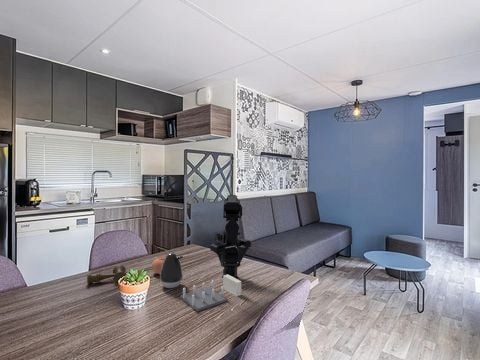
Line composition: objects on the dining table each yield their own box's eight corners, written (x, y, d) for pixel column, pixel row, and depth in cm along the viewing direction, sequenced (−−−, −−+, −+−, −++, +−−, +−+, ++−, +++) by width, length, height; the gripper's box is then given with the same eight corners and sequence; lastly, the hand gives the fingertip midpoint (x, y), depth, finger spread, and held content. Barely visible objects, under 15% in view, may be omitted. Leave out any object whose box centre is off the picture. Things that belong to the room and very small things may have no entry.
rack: (209, 288, 120) (209, 277, 120) (227, 300, 109) (228, 288, 109) (179, 297, 111) (179, 286, 111) (196, 311, 100) (196, 298, 100)
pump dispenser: (177, 291, 117) (177, 257, 116) (155, 289, 119) (156, 255, 118) (186, 282, 127) (187, 251, 126) (166, 280, 129) (166, 249, 128)
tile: (227, 287, 123) (227, 274, 123) (241, 295, 115) (241, 281, 115) (223, 288, 121) (223, 275, 121) (236, 296, 114) (236, 282, 113)
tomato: (156, 278, 131) (156, 262, 131) (148, 272, 139) (148, 256, 139) (176, 273, 138) (176, 258, 137) (167, 267, 146) (168, 253, 146)
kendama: (88, 281, 127) (132, 274, 136) (86, 290, 118) (134, 281, 127) (87, 269, 127) (132, 262, 135) (86, 277, 118) (134, 269, 127)
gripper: (237, 224, 130) (236, 256, 130) (204, 228, 118) (203, 263, 119) (252, 228, 121) (251, 262, 121) (217, 233, 109) (217, 271, 110)
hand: (231, 264), depth 118 cm, fingers open, 9 cm apart
